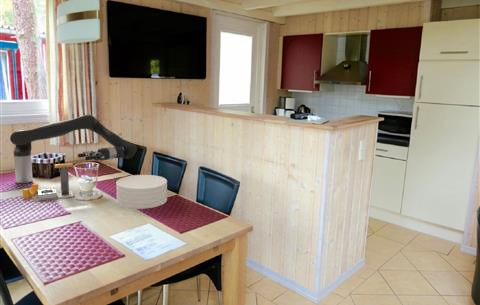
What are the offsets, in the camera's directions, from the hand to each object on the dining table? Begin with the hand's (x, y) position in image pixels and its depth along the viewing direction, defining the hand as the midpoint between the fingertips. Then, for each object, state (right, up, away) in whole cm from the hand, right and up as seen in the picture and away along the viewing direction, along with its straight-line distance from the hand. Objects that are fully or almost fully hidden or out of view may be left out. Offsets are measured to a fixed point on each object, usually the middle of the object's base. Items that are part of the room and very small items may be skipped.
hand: (81, 157), depth 211 cm
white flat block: (-15, -22, -9) cm, 28 cm away
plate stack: (+35, -25, -1) cm, 44 cm away
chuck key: (-8, -21, -4) cm, 23 cm away
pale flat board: (-13, -24, -7) cm, 28 cm away
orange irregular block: (-27, -23, -6) cm, 36 cm away
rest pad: (-8, -22, -4) cm, 23 cm away
